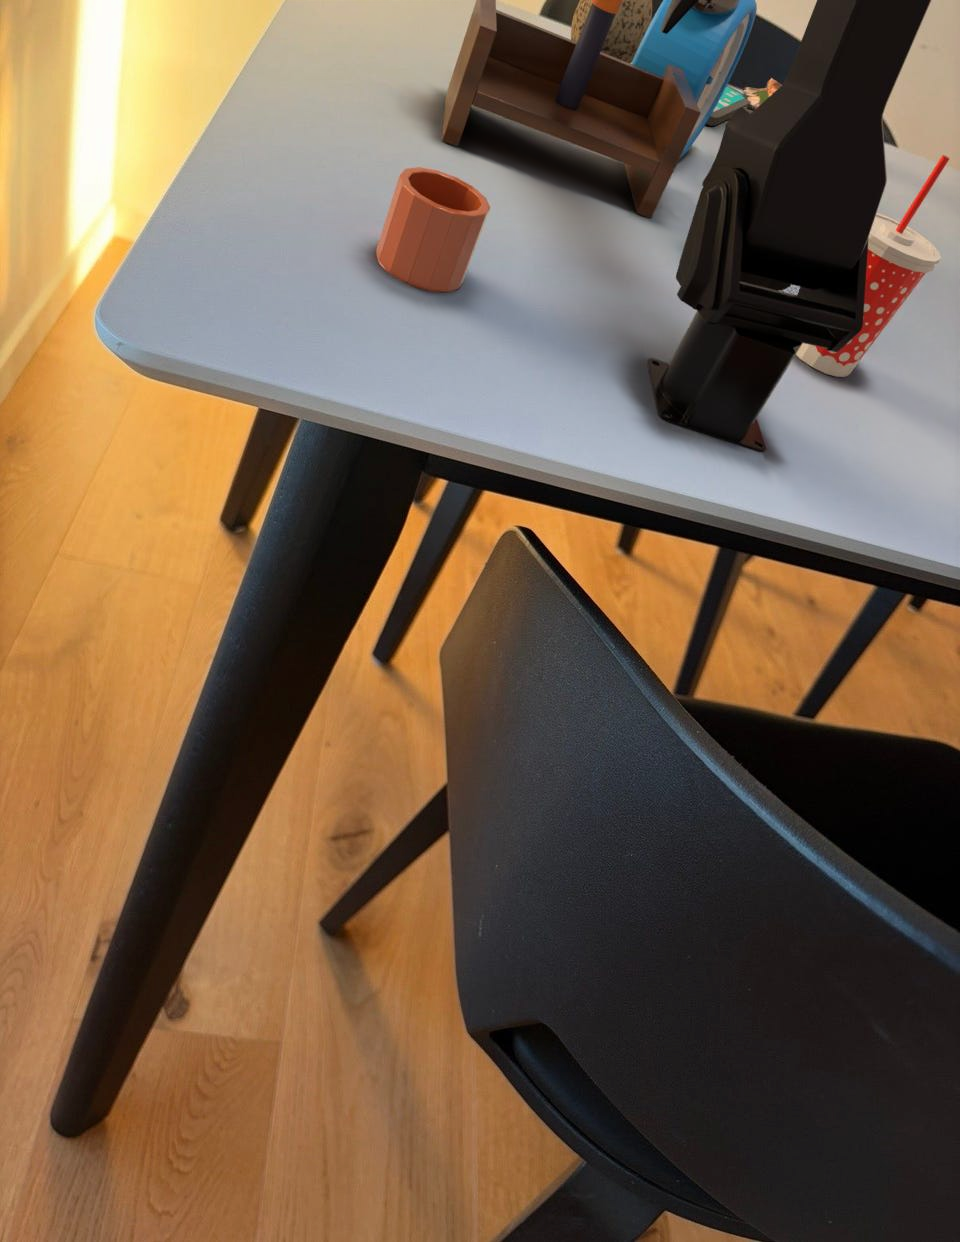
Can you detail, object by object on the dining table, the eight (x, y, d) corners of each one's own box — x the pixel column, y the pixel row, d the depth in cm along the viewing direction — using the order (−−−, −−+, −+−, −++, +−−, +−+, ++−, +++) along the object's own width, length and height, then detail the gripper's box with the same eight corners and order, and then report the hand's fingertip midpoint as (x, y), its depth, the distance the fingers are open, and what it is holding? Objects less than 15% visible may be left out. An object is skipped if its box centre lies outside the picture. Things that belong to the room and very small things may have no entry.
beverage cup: (774, 320, 76) (891, 121, 67) (852, 352, 77) (978, 159, 68) (784, 362, 72) (911, 153, 63) (867, 395, 73) (1004, 194, 64)
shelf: (651, 218, 82) (701, 112, 77) (441, 141, 79) (480, 24, 74) (637, 168, 90) (682, 69, 85) (445, 95, 86) (480, -14, 81)
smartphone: (641, 76, 107) (688, 61, 118) (636, 86, 108) (683, 70, 119) (717, 118, 106) (757, 99, 117) (712, 128, 106) (752, 109, 118)
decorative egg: (549, 47, 107) (590, -66, 101) (613, 67, 110) (657, -40, 104) (569, 75, 102) (614, -40, 96) (636, 96, 105) (683, -15, 99)
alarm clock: (659, 177, 90) (751, -18, 81) (593, 142, 91) (676, -56, 81) (697, 148, 100) (783, -29, 91) (638, 116, 101) (716, -63, 91)
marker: (579, 113, 81) (636, -27, 75) (554, 103, 81) (608, -38, 75) (578, 104, 83) (633, -34, 76) (553, 94, 82) (606, -45, 76)
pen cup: (459, 309, 61) (490, 226, 58) (369, 279, 60) (396, 192, 57) (460, 269, 65) (490, 189, 61) (376, 240, 63) (402, 157, 60)
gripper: (814, -212, 76) (706, 25, 85) (561, -335, 71) (479, -71, 81) (854, -190, 67) (730, 69, 77) (571, -328, 63) (478, -35, 73)
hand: (604, 7), depth 77 cm, fingers open, 9 cm apart
